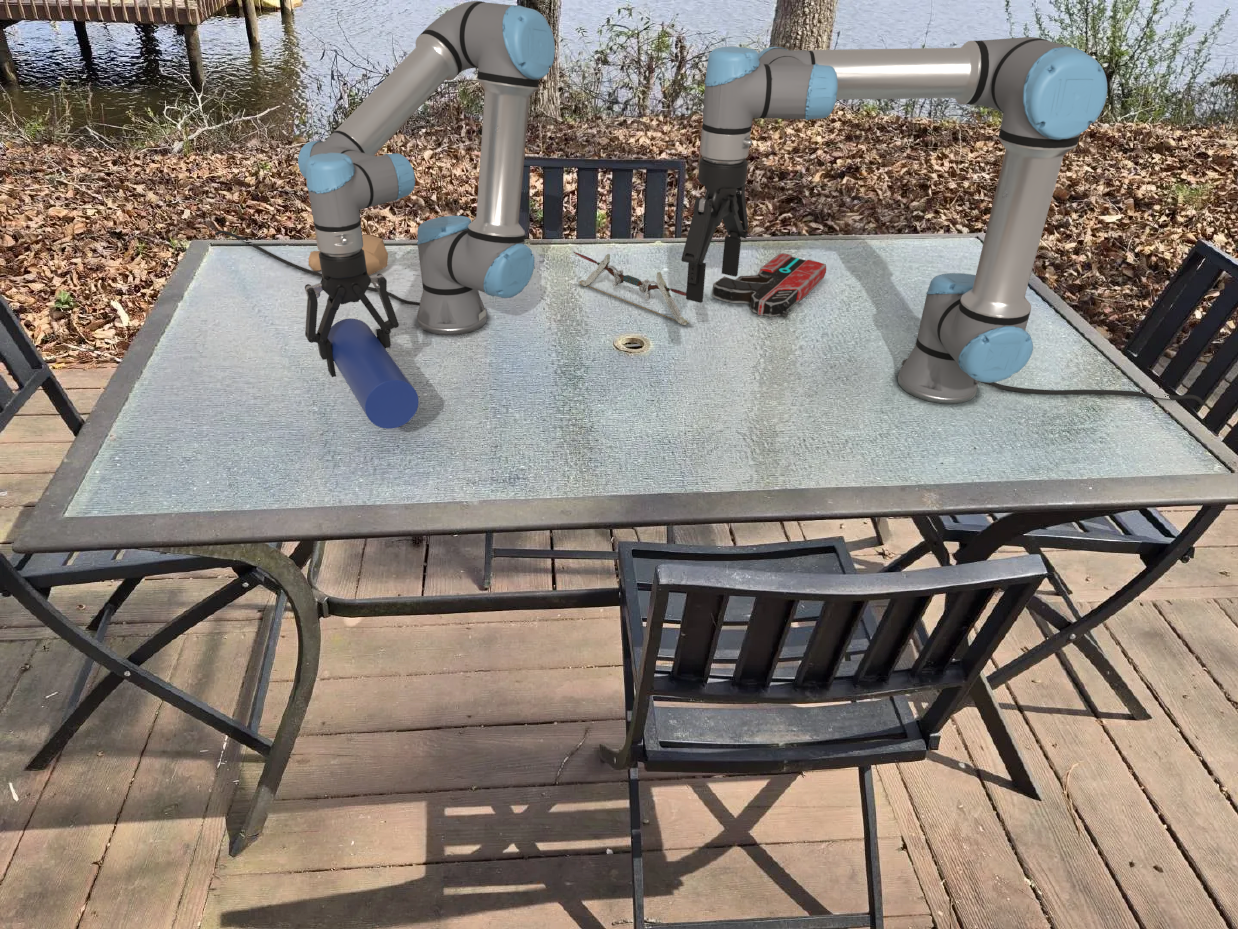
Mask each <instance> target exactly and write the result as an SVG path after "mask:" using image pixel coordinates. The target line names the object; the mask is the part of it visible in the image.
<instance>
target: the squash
mask: <svg viewBox="0 0 1238 929" xmlns="http://www.w3.org/2000/svg"><path fill="white" fill-rule="evenodd" d="M362 238H363V247H362V249H363V250H364V253H365V261H366V268H367V273H368V275H369V276H372V275H374V274H375V273H377V272H379V271H381V270H384V269H385V268H386V267H388V263H389V253H388V251H387V248H386V246H385V242H384V239H382V238H381V237H378V236H374V235H372V234H366V233H362ZM319 253H320V251H319V250H313V251H310V253H309V256H308V267H310V270H311V271H314V272H319V271H321V266H320V259H319Z"/></svg>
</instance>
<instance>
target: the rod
mask: <svg viewBox="0 0 1238 929" xmlns="http://www.w3.org/2000/svg"><path fill="white" fill-rule="evenodd" d="M328 340H329V341H330V343H331V347H332V354H333V360H334V365H335V366H336V367H337V369H338V370H339V372H340V374H341V375H342V377H343V379H344V380H345V382H346V384H347V385H348V388H349V389H350V390H351V392H352V394H353V395H354V397H355V399H356V401H357V402H358V404H359V405H360V407H361V409H362V411H363V412H364V414H365V415H366V417H367V419H368V420H369V421H370V422H371V423H372V424H373V425H374V426H376V427H378V428H381V429H387V430H388V429H389V430H391V429H397V428H400V427H402V426H404V425H406V424H408V422H410V421H411V420H412V419H413V418H414V416H415V415H416V413H417V411H418V408H419V402H420V401H419V395H418V393H417V391H416V389H415V388H414V386H413V385H412V384H411V382H410V380H409V379H408V378H407V377H406V375H405V373H404V372H403V371H402V370H401V368H400V366H398V364H397V363H396V361H395V360H394V359H393V357H392V356H391V354H390V353H389V352H388V350H387V348H386V349H385V348H384V346H383V345H382V344H381V342H380V341H379V340H378V338H377V335H376V333H374V331H373V330H372V329H371V327H370V326H369V325H368V323H366V322H364V321H363V320H361V319H357V318H353V317H352V318H344V319H341V320H338V321H337V322H335V323H334V324H332V326H331V329H330V332H329V335H328Z"/></svg>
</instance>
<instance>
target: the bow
mask: <svg viewBox="0 0 1238 929" xmlns="http://www.w3.org/2000/svg"><path fill="white" fill-rule="evenodd" d="M573 254H574V255H577V256H578V257H580V258H582V259H584V260H586V261H588V262H590V263H593V264H596V265H597V268H595V270H593V271H592V272H591V273H590V274H589V275H588V276H587V278H586V280H583V279H582V280H579V281H578V284H579V285H580V286H583V287H589V288H591V289H593V290H596V291H599V292H600V293H604V294H606V295H609V296H612V297H614V298H617V299H619V300H621V301H625V302H626V303H629V304H632V305H634V306H637V307H640V308H642V309H645V310H647V311H650V312H652V313H655V314H657V315H659V316H662V317H665V318H667V319H670V320H672V321H675V322H677V323H678V324H680V325H682V326H687V325H688V324H690V321H689V320H687V318H685V317H683V316H682V315H681V312H680V309H679V307H678V305H677V303H676V302H675V300H674V298H673V297H672V295H671V293H670V292H672V293H674V294H678V295H680V296H684V297H686V292H685V291H683V290H681V289H677V288H672V287H671V288H670V287H668V285H667V282H666V281H665V279H664V278H663V274H662V271H657V272H656V278H655V279H656V281H655V280H651V281H650V280H649V278H646V279H645V280H641V279H640V278H637V277H635V276H632V275H629V274H626V275H625V274H624V270H623V269H620V270H618V269H617V268H616V267H615V266H614V265H612V264H611V265H610V262H611V254H610V253H607V254H605V255H604V258H603V259H602V260H601V261H600V262H598V261H596V260H595V259H593V258H591V257H589V256H588V255H587V256H586V255H584V254H582V253H579V252H576V251H573ZM606 271H607V272H608V273H609V274H610V275H611V276H612V277H613V282H612V287H613V288H616V287H619V285H621V284H624V283H628V284H630V285H633V286H636V287H638V290H639V292H640V293H642V294H645V295H644V296H645V298H644V299H645V300H651V299H652V293H651V291H653V290H659V292H660V293H661V295H662V297H663V298H664V301H665V303H666V305H667V307H668V309H669V311H670V313H671V315H672V316H673V318H672V317H670V316H667V315H664V314H662V313H660V312H657V311H654V310H652V309H649V308H646V307H644V306H642V305H638V304H636V303H634V302H631V301H628V300H626V299H623V298H621V297H618V296H616V295H613V294H611V293H609V292H606V291H604V290H601V289H598V288H596V287H593V286H590V285H591V284H594V283H595V281H596V280H597V279H598V278H599V277H600V276H601V275H602V274H603V273H604V272H606Z"/></svg>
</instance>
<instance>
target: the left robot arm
mask: <svg viewBox="0 0 1238 929" xmlns="http://www.w3.org/2000/svg"><path fill="white" fill-rule="evenodd" d="M555 44H556V43H555V37H554V34H553V30H552V28H551V26H550V25H549V23H548V20H547V19H546V17H545V16H544V15H543V14H542V13H540V11H538V10H536V9H534V8H529V7H526V6H522V5H520V4H518V5H517V4H516V5H514V4H504V3H496V2H495V3H494V2H485V1H481V0H471V1H467V2H463V3H461V4H458V5H456V6H454V7H452V8H451V9H449V10H448V11H446V12H444V13H443V14H441V15H439V17H438V18H436V19H435V20H434V21H433V22H431V23H430V24H429V25H428V26H427V27H426V28H425V29H424V30H423V31H422V32H421V33H420V34H419V35H418V36H417V37H416V39H415V48H413V50H412V51H411V52H410V53H409V54H408V55H407V56H406V57H405V58H404V59H403V60H402V61H401V62H400V63H399V64H398V65H397V66H396V67H395V68H394V70H392V71H391V73H389V74H388V75H387V77H386V78H384V80H383V81H382V82H381V83H380V84H379V85H378V86H377V87H376V88H375V89H374V90H373V91H372V92H371V93H370V94H369V95H368V96H367V97H366V98H365V99H364V100H363V101H362V102H361V103H360V104H359V105H358V106H357V108H356V109H354V110H353V112H352V113H351V114H349V116H348V117H347V118H346V119H345V120H343V122H342V123H341V124H340V125H339V126H338V127H337V128H336V129H335V130H334V131H333V132H332V133H331V134H330V135H329V136H328V137H327V138H326V139H325V140H324V141H323V140H311V141H309V142H307V143H305V144H303V146H302V147H301V149H300V151H299V153H298V158H297V166H298V169H299V171H300V173H301V176H302V177H303V178H304V179H305V180H306V188H307V191H308V197H309V203H310V209H311V214H312V221H313V226H314V233H315V239H316V240H315V241H316V248H317V251H320V253H319V259H320V266H321V270H320V271H321V273H320V272H318V271H313V270H312V269H308V268H305V267H303V266H301V265H298V264H296V263H294V262H291V261H288V260H286V259H284V258H282V257H280V256H278V255H276V254H274V253H272V252H270V251H268V250H267V249H265V248H262V247H261V246H259V245H257V244H255V243H254V244H253V245H250V246H251V247H253V248H254V249H256V250H258V251H260V252H261V253H264V254H265V255H267V256H269V257H271V258H272V259H275V260H277V261H279V262H281V263H283V264H285V265H288V266H290V267H292V268H294V269H297V270H300V271H302V272H305V273H307V274H310V275H313V276H316V277H319V278H321V279H320V282H319V283H316V284H313V285H311V284H310V283H308V284H305V286H304V291H305V294H306V297H307V302H306V316H305V328H304V336H305V338H306V340H307V341H308V343H310V344H312V343H316V344H317V347H318V354H319V356H320V358H321V359H322V361H325V360H326V364H327V371H328V373H329V375H330V377H331V378H335V377H337V373H336V367H335V366H336V365H335V362H334V360H333V354H332V347H331V343H330V341H329V340H328V335H329V332H330V329H331V327H332V326H333V323H334V320H335V318H336V315H337V312H338V311H339V309H340V305H346V304H349V303H359V302H361V303H362V304H363V306H364V307H365V308H366V311H368V312H369V314H370V316H371V317H372V318H373V319H374V321H375V322H376V323H377V325H378V327H379V328H376V329H375V335H376V337H377V338H378V340H379V341H380V342H381V344H382V345H383V346H384V348H385V349H386V350H387V349H390V348H391V346H392V343H391V335H390V334H391V333H392V331H391V330H393V329H398V328H399V326H400V324H399V320H398V318H397V314H396V313H395V309H394V307H393V304H392V301H391V299H390V298H393V299H394V300H396V301H398V302H400V303H403V304H406V305H411V306H417V307H418V310H417V315H416V318H417V325H418V326H419V328H420V329H421V330H423V331H424V332H427V333H430V334H433V335H440V336H459V335H465V334H469V333H473V332H476V331H477V330H480V329H481V328H483V327H484V326H485V325H486V323H487V320H488V316H487V309H486V306H485V304H484V302H483V299H482V298H481V295H480V293H479V292H481V293H484V294H486V295H487V296H490V297H497V298H501V299H511V298H513V297H516V296H518V295H519V294H520V293H521V292H523V290H525V287H527V286H528V284H529V283H530V281H531V279H532V276H533V273H534V269H535V261H536V260H535V256H534V253H533V251H532V249H531V248H530V247H529V246H528V245H527V244H525V242H526V241H525V240H526V231H525V229H524V227H522V226H521V224H520V213H521V211H520V210H521V201H522V191H523V190H522V189H523V177H524V166H525V165H524V164H525V156H526V155H525V153H526V144H527V131H528V121H529V120H528V119H529V110H530V99H531V96H532V95H534V93H536V92H537V91H538V90H539V88H540V87H539V85H540V79H542V78H545V77H546V76H547V75H548V74H549V72H550V69H551V68H552V67H553V64H554V60H555V54H556V45H555ZM470 69H477V77H476V78H477V79H476V81H477V82H478V83H479V85H480V86H481V87H482V89H483V92H484V95H483V96H484V97H483V110H482V111H483V113H482V124H481V125H482V126H481V142H480V156H479V157H480V158H479V170H478V185H477V186H478V187H477V202H476V204H477V205H476V215H475V219H474V220H472V219H471V218H470V217H468V216H465V215H445V216H439V217H434V218H431V219H428V220H425V221H423V222H421V223H420V224H419V226H418V227H417V230H416V233H417V242H416V244H417V252H418V260H419V267H420V268H419V269H420V275H421V276H420V278H421V284H422V292H421V297H420V302H419V301H413V300H407V299H404V298H402V297H399V296H398V295H396V294H394V293H392V292H389V291H388V290H387V289H388V288H387V285H388V280H387V279H386V277H385V276H384V275H383V274H382V273H377V274H376V275H368V273H367V268H366V261H365V253H364V250H363V249H362V247H363V238H362V235H363V232H362V225H361V224H362V222H361V214H360V212H361V210H365V209H369V208H372V207H375V206H379V205H383V204H386V203H387V204H388V203H390V202H397V201H399V200H400V199H403V198H406V197H408V196H410V195H411V194H412V193H413V191H414V189H415V187H416V177H415V175H416V174H415V170H414V168H413V165H412V164H411V162H410V161H409V159H408V158H407V157H406V156H404V155H403V154H401V153H397V152H396V153H384V154H383V155H376V154H377V153H378V152H379V151H380V150H381V149H382V148H383V147H384V146H385V144H387V142H389V141H390V139H392V137H393V136H394V135H395V134H396V133H397V132H398V131H399V130H400V129H401V128H402V127H403V125H404V124H406V122H407V121H408V120H409V119H410V118H411V117H412V116H413V115H414V114H415V113H416V112H417V111H418V110H419V109H420V108H421V107H422V105H423V104H424V103H425V102H426V101H427V100H428V99H429V98H430V97H431V96H432V95H433V94H434V93H435V92H436V91H437V89H438V88H439V87H440V86H442V84H443V83H444V82H445V81H453V80H454V79H456V78H457V77H458V76H459V75H460V74H461V73H462V72H464V71H466V70H470ZM221 234H223V235H228V236H230V237H232V238H235V239H238V240H241V241H242V240H246V241H249V240H248V239H246V238H245V237H243V236H240V235H238V234H235V233H233V232H230V231H227V230H218V231H216V232H215V234H214V236H215V237H217V236H219V235H221ZM245 243H246V244H247V243H253V242H252V241H250V242H245ZM371 284H372V286H373V287H372V286H370V285H371ZM367 291H371V292H375V293H377V294H378V296H379V299H380V301H381V304H382V307H383V310H384V312H385V315H386V317H387V320H384V318H383V317H382V316H381V315H380V313H379V311H378V310H377V309H376V307H375V306H374V305H373V303H372V301H370V299H369V298H368V297H367V295H366V292H367ZM321 292H324V293H325V294H326V295H328V297H327V300H326V306H325V308H324V311H323V314H322V317H321V320H320V323H319V325H318V329H317V320H318V309H319V308H318V307H319V306H318V305H319V300H318V299H319V298H320V297H321Z"/></svg>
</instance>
